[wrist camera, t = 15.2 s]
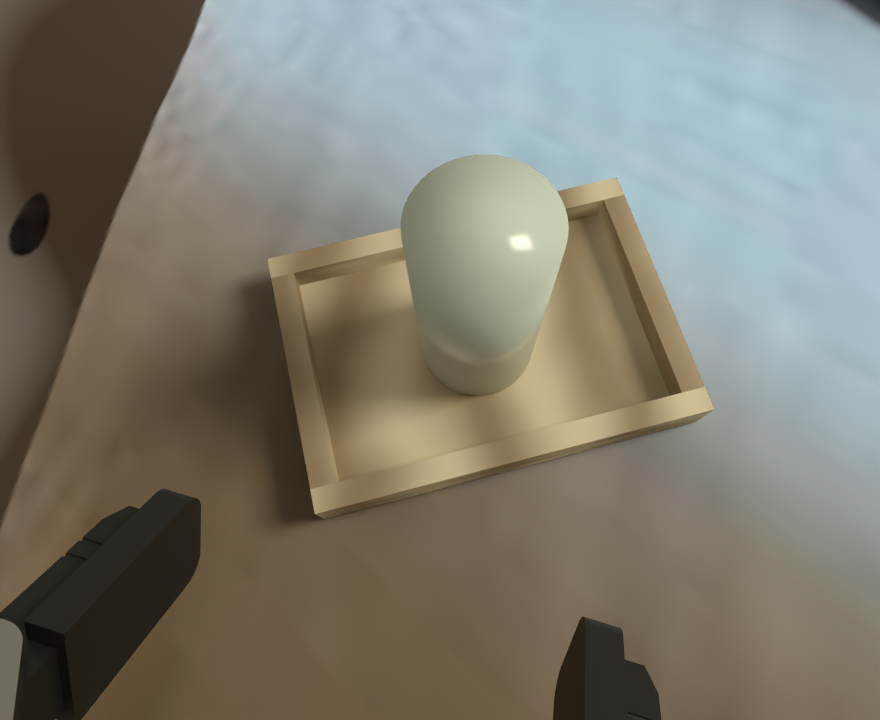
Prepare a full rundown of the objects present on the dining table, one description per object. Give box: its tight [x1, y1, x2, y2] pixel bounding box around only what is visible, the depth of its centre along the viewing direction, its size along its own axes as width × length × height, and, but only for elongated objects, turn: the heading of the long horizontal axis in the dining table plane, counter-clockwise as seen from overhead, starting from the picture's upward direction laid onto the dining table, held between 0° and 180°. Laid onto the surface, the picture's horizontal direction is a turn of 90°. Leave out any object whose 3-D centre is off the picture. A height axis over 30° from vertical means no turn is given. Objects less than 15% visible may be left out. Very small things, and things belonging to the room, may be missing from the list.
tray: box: [268, 177, 714, 519], centre depth 34 cm, size 20×14×2 cm
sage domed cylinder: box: [401, 155, 569, 396], centre depth 28 cm, size 6×6×12 cm
